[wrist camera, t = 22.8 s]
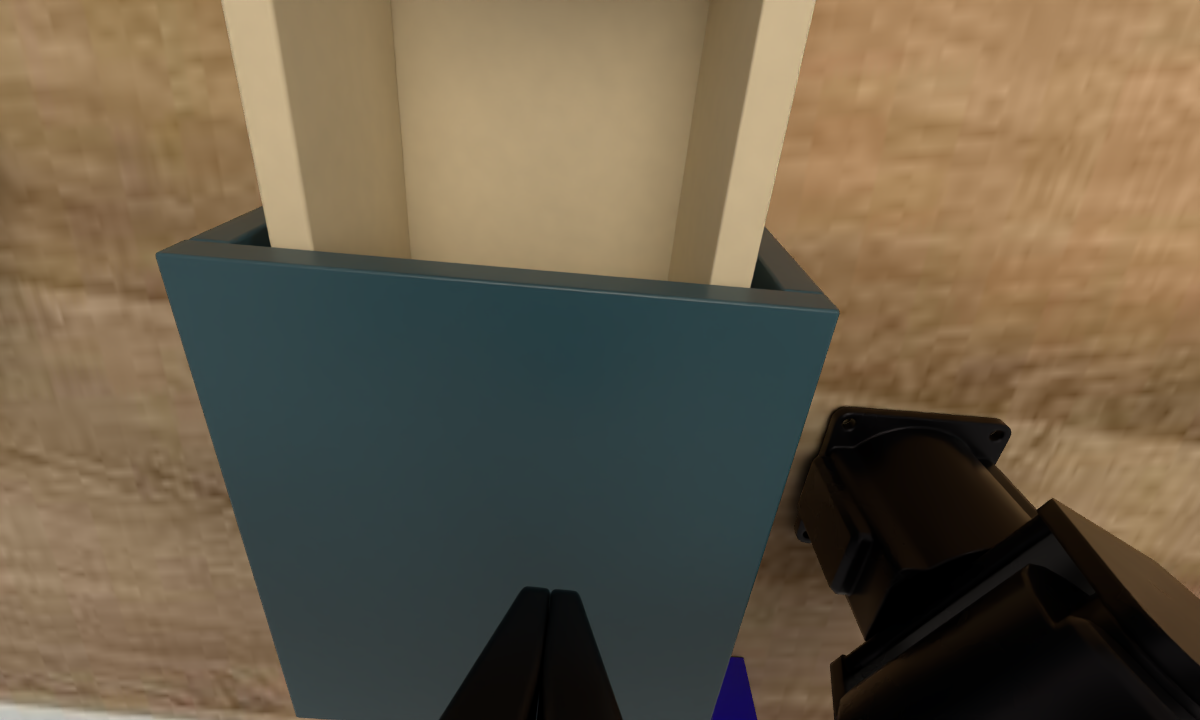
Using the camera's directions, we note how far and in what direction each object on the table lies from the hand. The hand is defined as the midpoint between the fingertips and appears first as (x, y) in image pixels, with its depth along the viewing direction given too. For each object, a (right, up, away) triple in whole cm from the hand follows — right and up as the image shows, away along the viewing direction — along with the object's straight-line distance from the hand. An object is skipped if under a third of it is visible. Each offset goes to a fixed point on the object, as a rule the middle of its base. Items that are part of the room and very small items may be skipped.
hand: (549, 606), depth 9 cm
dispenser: (-1, +3, +12) cm, 12 cm away
